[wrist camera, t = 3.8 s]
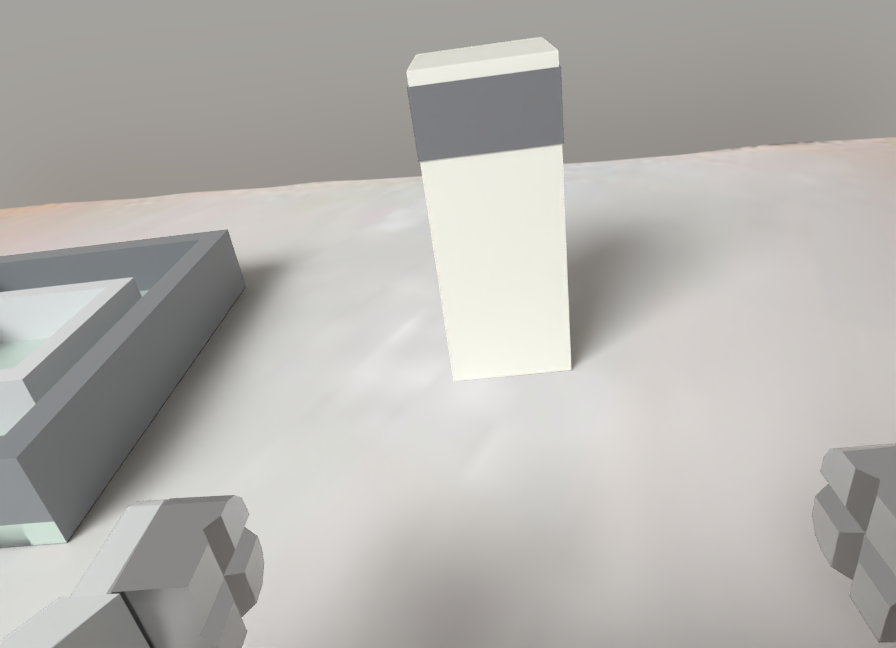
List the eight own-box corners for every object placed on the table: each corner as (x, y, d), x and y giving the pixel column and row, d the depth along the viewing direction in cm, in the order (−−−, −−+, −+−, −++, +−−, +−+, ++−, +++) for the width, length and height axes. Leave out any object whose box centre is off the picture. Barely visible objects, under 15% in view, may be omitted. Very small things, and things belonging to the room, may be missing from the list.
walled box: (245, 286, 31) (227, 229, 30) (66, 542, 17) (15, 458, 16) (0, 313, 32) (-29, 259, 31) (-359, 575, 18) (-443, 499, 17)
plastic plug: (557, 313, 25) (542, 36, 20) (573, 371, 21) (560, 49, 16) (453, 324, 25) (414, 54, 20) (452, 382, 21) (404, 71, 17)
